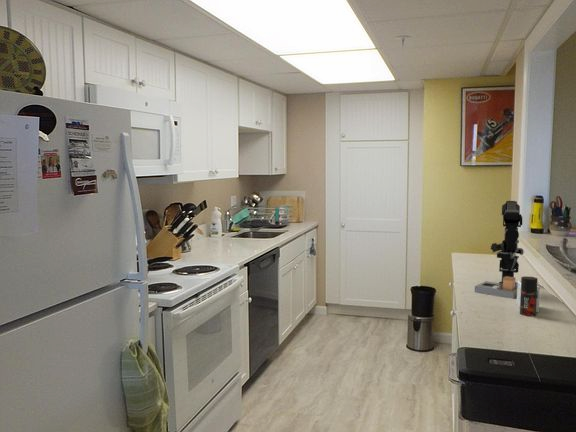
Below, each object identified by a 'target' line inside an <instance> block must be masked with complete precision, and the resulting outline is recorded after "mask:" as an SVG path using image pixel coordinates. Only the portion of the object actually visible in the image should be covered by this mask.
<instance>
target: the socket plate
mask: <svg viewBox="0 0 576 432" xmlns="http://www.w3.org/2000/svg"><path fill="white" fill-rule="evenodd" d="M477 292H478V293H477ZM474 293H477V294H482V295H484V294H485V295H491V296H497V297H501V298H508V299H516V298H517V285H515V289H514V290H510V289H503V284H502V283H499V282H494V281H493V282H492V281H487V280H486V281H484V282H481V283H478V284H476V285H474Z"/></svg>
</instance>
